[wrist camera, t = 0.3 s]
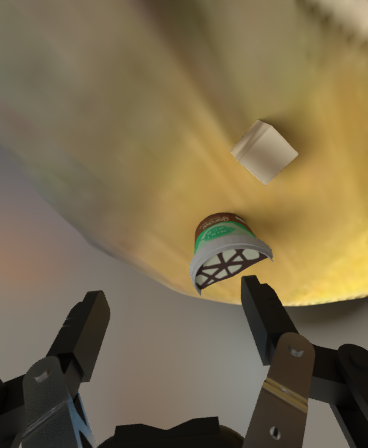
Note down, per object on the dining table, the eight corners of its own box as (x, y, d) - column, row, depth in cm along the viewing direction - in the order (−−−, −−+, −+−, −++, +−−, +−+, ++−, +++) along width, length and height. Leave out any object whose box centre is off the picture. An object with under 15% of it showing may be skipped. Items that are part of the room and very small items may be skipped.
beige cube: (257, 119, 27) (271, 125, 23) (281, 144, 29) (298, 154, 25) (229, 150, 30) (238, 161, 25) (253, 172, 31) (265, 185, 27)
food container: (236, 191, 33) (257, 228, 24) (253, 218, 36) (277, 259, 27) (173, 230, 37) (171, 273, 28) (193, 252, 39) (197, 297, 31)
